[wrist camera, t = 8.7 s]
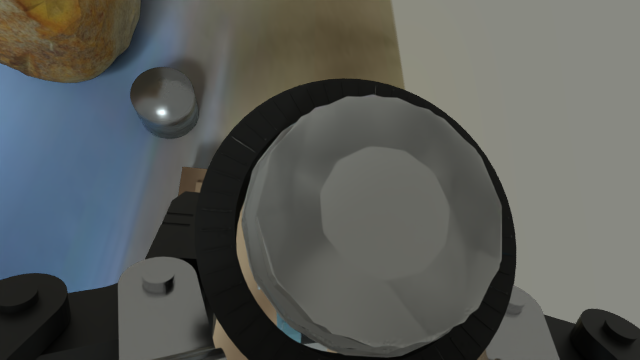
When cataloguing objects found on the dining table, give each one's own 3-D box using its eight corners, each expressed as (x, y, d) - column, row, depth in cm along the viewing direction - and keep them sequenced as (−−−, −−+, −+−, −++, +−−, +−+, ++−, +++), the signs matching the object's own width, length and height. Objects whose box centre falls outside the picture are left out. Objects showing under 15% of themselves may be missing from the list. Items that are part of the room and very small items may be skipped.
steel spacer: (136, 135, 29) (124, 117, 26) (146, 86, 30) (136, 63, 27) (194, 141, 29) (189, 124, 26) (202, 93, 30) (197, 71, 28)
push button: (377, 381, 14) (634, 522, 5) (224, 399, 13) (174, 620, 4) (359, 199, 16) (516, 51, 7) (223, 203, 15) (189, 36, 6)
